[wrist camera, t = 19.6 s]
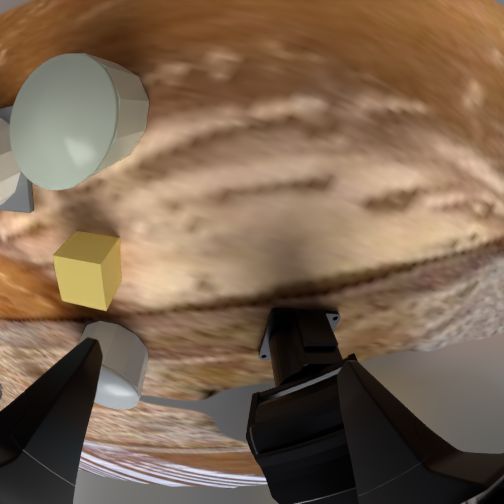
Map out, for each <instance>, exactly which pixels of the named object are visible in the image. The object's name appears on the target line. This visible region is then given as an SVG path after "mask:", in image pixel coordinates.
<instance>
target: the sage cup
mask: <svg viewBox="0 0 504 504" xmlns="http://www.w3.org/2000/svg"><path fill="white" fill-rule="evenodd" d="M148 108H149V99H148V97H147V95H146V92H145V90H144V87H143V85H142V83H141V80H140V78H139V76H137V75H135V74H134V73H132V72H130V71H129V70H127V69H125V68H124V67H122V66H120V65H119V64H116V63H114V62H111V61H108V60H105V59H102V58H99V57H96V56H92V55H89V54H86V53H78V54H74V53H69V54H62V55H59V56H56V57H53V58H51V59H49V60H47V61H46V62H44V63H43V64H41V65H40V66H39V67H38V68H36V69H35V70H34V71H33V72H32V73H31V75H30V76H29V77H28V78H27V80H26V81H25V82H24V84H23V86H22V87H21V89H20V91H19V93H18V95H17V97H16V100H15V102H14V105H13V109H12V113H11V118H10V144H11V149H12V153H13V156H14V159H15V161H16V163H17V165H18V167H19V168H20V170H21V171H22V173H23V174H24V175H25V176H26V177H27V178H28V179H29V180H30V181H31V182H32V183H34V184H35V185H37V186H39V187H41V188H44V189H48V190H62V189H67V188H73V187H75V186H76V185H78V184H80V183H81V182H83V181H85V180H87V179H88V178H90V177H92V176H94V175H95V174H97V173H99V172H101V171H102V170H104V169H106V168H108V167H110V166H111V165H113V164H115V163H116V162H118V161H120V160H122V159H123V158H125V157H127V156H129V155H130V154H131V152H132V151H133V149H134V148H135V146H136V145H137V143H138V141H139V140H140V138H141V137H142V135H143V134H144V132H145V131H146V124H147V116H148Z"/></svg>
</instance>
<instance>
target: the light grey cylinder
mask: <svg viewBox="0 0 504 504" xmlns="http://www.w3.org/2000/svg"><path fill="white" fill-rule="evenodd" d="M87 337H91V338H95V339H98V341H99V343H100V347H101V350H102V354H103V360H102V365H101V370H100V375H99V381H98V386H97V392H96V396H95V400H94V402H95V403H97V404H99V405H102V406H105V407H108V408H113V409H130V408H133V407H135V406H136V405H137V403H138V400H139V399H140V396H141V391H142V387H143V382H144V378H145V373H146V369H147V365H148V360H149V359H148V352H147V347H146V346H145V345H144V344H143V343H142V341H141V340H140V339H139V338H138V337H137V335H136V334H134V333H132V332H130V331H129V330H127V329H125V328H123V327H122V326H120V325H118V324H113V323H108V322H103V321H98V322H95V323H91V324H88V325H87V326H86V328H85V330H84V332H83V334H82V336H81V338H80V340H79V342H78V344H79V343H81V342H82V341H83V340H84V339H85V338H87ZM78 344H77V345H78Z"/></svg>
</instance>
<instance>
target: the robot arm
mask: <svg viewBox="0 0 504 504" xmlns="http://www.w3.org/2000/svg"><path fill="white" fill-rule="evenodd" d="M276 313H279V314H276ZM335 316H336V317H335ZM333 317H334V318H333ZM339 320H340V314H339V313H338V312H336V311H318V310H302V309H287V308H274V309H273V310H272V311H271V313H270V317H269V320H268V324H267V327H266V330H265V334H264V337H263V340H262V344H261V347H260V350H259V358H260V359H262V360H271V362H272V368H273V375H274V381H275V388H272V389H269V390H266V391H263V392H257V393H254V394H253V395H252V400H251V407H250V413H249V419H248V425H247V433H246V439H247V441H248V445H249V447H250V450H251V452H252V454H253V456H254V458H255V460H256V461H257V463H258V464H259V466H260V467H261V469H262V471H263V473H264V475H265V478H266V480H267V483H268V486H269V489H270V492H271V495H272V497H273V498H274V500H276V501H277V502H278V503H279V504H504V453H502V454H488V453H470V452H463V451H460V450H458V449H456V448H455V447H453V446H452V445H450V444H449V443H448V442H446V441H445V440H444V439H442V438H441V437H440V436H438V435H437V434H436V433H434V432H433V431H432V430H431V429H429V428H428V427H427V426H426V425H425V424H424V423H423V422H422V421H420V420H419V419H418V418H417V417H416V416H415V415H414V414H413V413H412V412H411V411H410V410H408V408H406V407H405V406H404V405H403V404H402V403H401V402H400V401H399V400H398V399H397V398H396V397H395V396H394V395H393V394H391V393H390V392H389V391H388V390H387V389H386V388H385V387H384V386H383V385H382V384H381V383H380V382H379V381H378V380H377V379H376V378H375V377H373V376H372V375H371V374H370V373H369V372H368V371H367V370H366V369H365V368H364V367H363V366H362V365H361V364H360V363H359V362H358V361H357V359H356V356H355V354H354V353H353V354H351V355H349V356H348V357H347V358H345V359H342V356H341V354H340V351H339V349H338V342H337V340H336V337H335V335H334V330H335V328H336V326H337V324H338V322H339ZM102 360H103V354H102V350H101V347H100V343H99V341H98V339H95V338H91V337H87V338H85V339H84V340H83V341H82V342H81V343H79V344H78V345H77V346H76V347H75V348H73V349H72V350H71V351H70V352H69V353H67V354H66V355H65V356H64V357H63V358H62V359H60V360H59V361H58V362H57V363H56V364H55V365H53V366H52V367H51V368H50V369H49V370H48V371H47V372H45V373H44V374H43V375H42V376H41V377H40V378H39V379H37V380H36V381H35V382H34V383H33V384H32V385H31V386H29V387H28V388H27V389H26V390H25V391H24V392H23V393H22V394H20V395H19V396H18V397H17V398H16V399H15V400H14V401H12V402H11V403H10V404H9V405H8V406H6V407H5V408H4V409H3V410H1V411H0V504H73V497H74V490H75V483H76V477H77V472H78V467H79V461H80V457H81V452H82V447H83V443H84V439H85V434H86V430H87V426H88V422H89V418H90V415H91V411H92V407H93V404H94V400H95V396H96V392H97V386H98V381H99V375H100V370H101V365H102Z"/></svg>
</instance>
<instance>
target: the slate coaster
mask: <svg viewBox="0 0 504 504" xmlns="http://www.w3.org/2000/svg"><path fill="white" fill-rule="evenodd" d="M12 109H13V106H10V107H5V108H1V109H0V118H2V119H3V120H5V121H6V122H7V123H8V124H9V125H10V118H11V113H12ZM0 210H3V211H14V212H25V213H31V212H32V211H34V206H33V195H32V182H31V181H30V180H29V179H28V178H27V177H26V176H25V175H24V174H23V173H22V171H21V173H20V176H19V180H18V183H17V186H16V190H15V193H13V194H12V195H11V196H10V197H9V198H8V199H7V200H6V201H5V202H4V203H3V204H1V205H0Z"/></svg>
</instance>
